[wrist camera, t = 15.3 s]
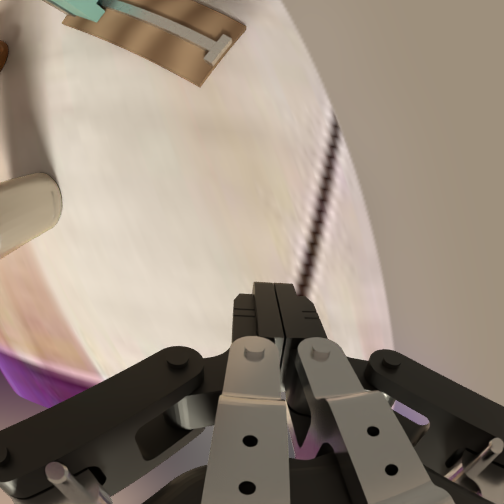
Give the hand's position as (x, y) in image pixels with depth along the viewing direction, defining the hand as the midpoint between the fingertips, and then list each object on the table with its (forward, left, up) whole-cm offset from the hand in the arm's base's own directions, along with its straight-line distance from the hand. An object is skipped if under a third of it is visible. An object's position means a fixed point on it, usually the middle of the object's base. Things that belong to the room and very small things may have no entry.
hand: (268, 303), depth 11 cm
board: (-16, +24, -27) cm, 40 cm away
